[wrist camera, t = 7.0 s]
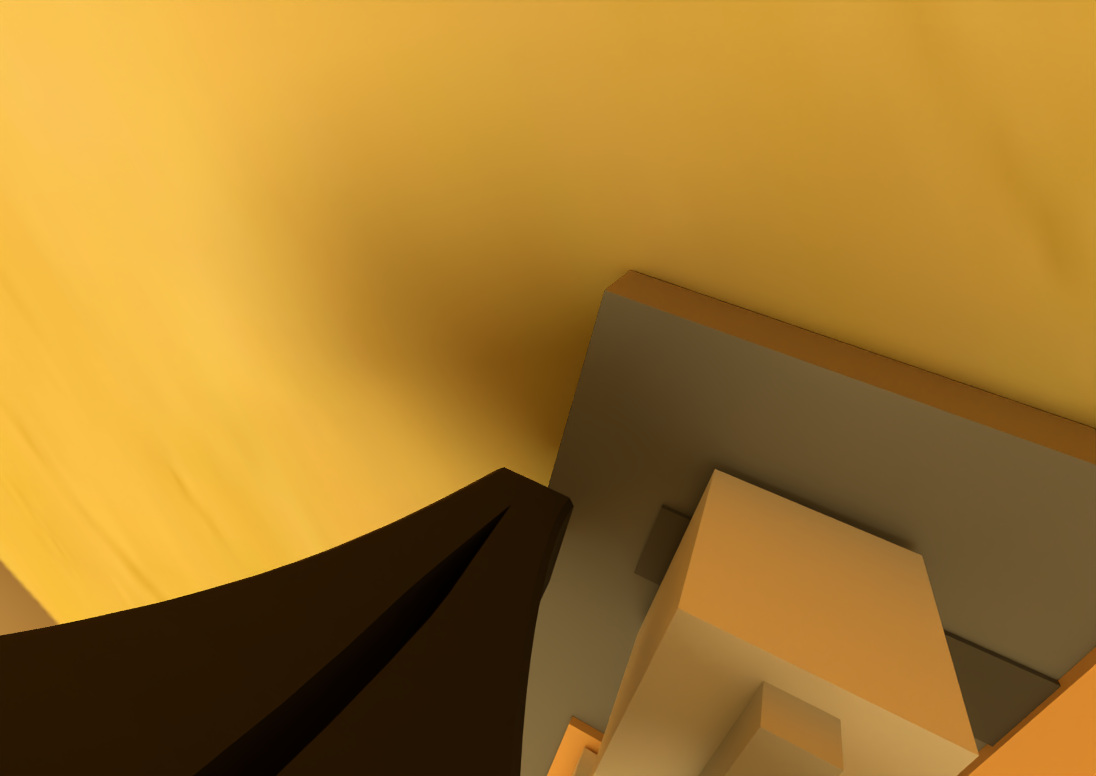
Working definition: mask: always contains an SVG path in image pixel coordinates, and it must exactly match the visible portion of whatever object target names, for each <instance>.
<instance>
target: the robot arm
mask: <svg viewBox="0 0 1096 776" xmlns="http://www.w3.org/2000/svg"><path fill="white" fill-rule="evenodd" d="M573 507H574V505H573V503H572V501H571V499H570V498H569V497H567V496H565V495H563V494H561V493H559V492H556V491H554V490H552V489H550V488H548V487H546V486H543V485H541V484H539V483H537V482H535V481H533V480H530V479H528V478H526V477H524V476H522V475H520V474H517V473H515V472H513V471H511V470H509V469H507V468H505V467H503V468H501V469H498V470H496V471H494V472H492V473H490V474H488V475H486V476H484V477H483V478H481V479H479V480H477V481H475V482H473V483H471V484H470V485H468V486H466V487H464V488H462V489H460V490H458V491H456V492H454V493H452V494H450V495H449V496H447V497H445V498H443V499H441V500H439V501H437V502H435V503H433V504H431V505H429V506H427V507H424V508H422V509H420V510H418V511H416V512H414V513H412V514H410V515H408V516H406V517H404V518H402V519H399V520H397V521H395V522H393V523H391V524H389V525H386V526H384V527H382V528H379V529H377V530H375V531H372V532H370V533H368V534H365V535H363V536H361V537H358V538H356V539H353V540H351V541H349V542H346V543H344V544H342V545H339V546H337V547H334V548H332V549H329V550H327V551H324V552H321V553H319V554H316V555H313V556H311V557H308V558H305V559H302V560H300V561H297V562H294V563H291V564H288V565H285V566H282V567H279V568H276V569H273V570H271V571H268V572H265V573H262V574H258V575H255V576H252V577H249V578H245V579H242V580H239V581H235V582H232V583H228V584H225V585H222V586H218V587H215V588H211V589H208V590H204V591H201V592H197V593H193V594H190V595H186V596H182V597H179V598H175V599H171V600H167V601H164V602H160V603H156V604H151V605H147V606H142V607H138V608H133V609H129V610H124V611H120V612H115V613H111V614H106V615H102V616H98V617H93V618H89V619H84V620H80V621H75V622H70V623H65V624H60V625H55V626H50V627H45V628H40V629H34V630H29V631H24V632H18V633H13V634H7V635H1V636H0V776H520V773H521V758H522V742H523V729H524V718H525V706H526V695H527V686H528V677H529V669H530V661H531V654H532V647H533V640H534V634H535V627H536V621H537V616H538V610H539V605H540V601H541V599H542V597H543V595H544V592H545V590H546V588H547V586H548V584H549V582H550V579H551V576H552V573H553V569H554V566H555V563H556V560H557V557H558V554H559V551H560V548H561V545H562V542H563V538H564V535H565V532H566V529H567V526H568V523H569V520H570V517H571V514H572V511H573Z"/></svg>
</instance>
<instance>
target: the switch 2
mask: <svg viewBox="0 0 1096 776" xmlns="http://www.w3.org/2000/svg"><path fill="white" fill-rule="evenodd" d="M978 756H979V754H978V750H977V747H976V743H975V740H974V736H973V733H972V729H971V726H970V722H969V719H968V715H967V712H966V708H965V705H964V701H963V698H962V694H961V691H960V687H959V684H958V680H957V676H956V673H955V669H954V666H953V662H952V659H951V655H950V652H949V648H948V645H947V641H946V638H945V634H944V631H943V627H942V624H941V620H940V617H939V613H938V610H937V606H936V603H935V599H934V596H933V592H932V588H931V585H930V581H929V578H928V574H927V571H926V567H925V564H924V560H923V557H922V555H920V554H917V553H915V552H912V551H910V550H908V549H905V548H903V547H900V546H898V545H896V544H893V543H891V542H888V541H886V540H884V539H881V538H879V537H877V536H874V535H872V534H869V533H867V532H865V531H862V530H860V529H857V528H855V527H853V526H850V525H848V524H846V523H843V522H841V521H838V520H836V519H834V518H831V517H829V516H826V515H824V514H822V513H819V512H817V511H814V510H812V509H810V508H807V507H805V506H803V505H800V504H798V503H795V502H793V501H791V500H788V499H786V498H783V497H781V496H779V495H776V494H774V493H772V492H769V491H767V490H764V489H762V488H760V487H757V486H755V485H752V484H750V483H748V482H745V481H743V480H740V479H738V478H736V477H733V476H731V475H729V474H726V473H724V472H721V471H719V470H717V469H715V470H714V472H713V474H712V476H711V478H710V480H709V483H708V485H707V487H706V489H705V491H704V493H703V495H702V497H701V500H700V502H699V504H698V506H697V508H696V510H695V512H694V515H693V517H692V519H691V521H690V523H689V525H688V527H687V529H686V532H685V534H684V536H683V538H682V540H681V542H680V544H679V547H678V549H677V551H676V553H675V555H674V557H673V559H672V562H671V564H670V566H669V568H668V570H667V572H666V574H665V576H664V579H663V581H662V583H661V585H660V587H659V589H658V591H657V594H656V596H655V598H654V600H653V602H652V604H651V606H650V608H649V611H648V613H647V615H646V617H645V619H644V621H643V623H642V626H641V628H640V630H639V632H638V634H637V637H636V640H635V643H634V646H633V649H632V652H631V655H630V658H629V661H628V664H627V667H626V670H625V673H624V676H623V679H622V682H621V685H620V688H619V691H618V694H617V697H616V700H615V703H614V706H613V709H612V712H611V715H610V718H609V721H608V724H607V727H606V730H605V733H604V736H603V739H602V742H601V745H600V748H599V751H598V754H597V757H596V760H595V763H594V766H593V769H592V772H591V775H590V776H957V775H958V774H959V773H960V772H961V771H962V770H964V769H965V768H966V767H967V766H968V765H969V764H970V763H971V762H973V761H974V760H975V759H976V758H977V757H978Z"/></svg>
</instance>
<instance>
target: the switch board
mask: <svg viewBox="0 0 1096 776" xmlns="http://www.w3.org/2000/svg"><path fill="white" fill-rule="evenodd" d="M715 469H717V470H719V471H721V472H724V473H726V474H729V475H731V476H733V477H736V478H738V479H740V480H743V481H745V482H748V483H750V484H752V485H755V486H757V487H760V488H762V489H764V490H767V491H769V492H772V493H774V494H776V495H779V496H781V497H783V498H786V499H788V500H791V501H793V502H795V503H798V504H800V505H803V506H805V507H807V508H810V509H812V510H814V511H817V512H819V513H822V514H824V515H826V516H829V517H831V518H834V519H836V520H838V521H841V522H843V523H846V524H848V525H850V526H853V527H855V528H857V529H860V530H862V531H865V532H867V533H869V534H872V535H874V536H877V537H879V538H881V539H884V540H886V541H888V542H891V543H893V544H896V545H898V546H900V547H903V548H905V549H908V550H910V551H912V552H915V553H917V554H920V555H922V557H923V560H924V564H925V567H926V571H927V574H928V578H929V581H930V585H931V588H932V592H933V596H934V599H935V603H936V606H937V610H938V613H939V617H940V620H941V624H942V627H943V631H944V634H945V638H946V641H947V645H948V648H949V652H950V655H951V659H952V662H953V666H954V669H955V673H956V676H957V680H958V684H959V687H960V691H961V694H962V698H963V701H964V705H965V708H966V712H967V715H968V719H969V722H970V726H971V729H972V733H973V736H974V740H975V743H976V747H977V750H978V754H979V756H978V757H977V758H976V759H975V760H974V761H973V762H971V763H970V764H969V765H968V766H967V767H966V768H965V769H964V770H962V771H961V772H960V773H959V774H958V775H957V776H1096V429H1094V428H1091V427H1088V426H1085V425H1082V424H1079V423H1076V422H1073V421H1071V420H1068V419H1065V418H1062V417H1059V416H1056V415H1053V414H1050V413H1047V412H1044V411H1041V410H1038V409H1035V408H1032V407H1030V406H1027V405H1024V404H1021V403H1018V402H1015V401H1012V400H1009V399H1006V398H1003V397H1000V396H997V395H994V394H992V393H989V392H986V391H983V390H980V389H977V388H974V387H971V386H968V385H965V384H962V383H959V382H956V381H954V380H951V379H948V378H945V377H942V376H939V375H936V374H933V373H930V372H927V371H924V370H921V369H918V368H915V367H913V366H910V365H907V364H904V363H901V362H898V361H895V360H892V359H889V358H886V357H883V356H880V355H877V354H875V353H872V352H869V351H866V350H863V349H860V348H857V347H854V346H851V345H848V344H845V343H842V342H839V341H837V340H834V339H831V338H828V337H825V336H822V335H819V334H816V333H813V332H810V331H807V330H804V329H801V328H798V327H796V326H793V325H790V324H787V323H784V322H781V321H778V320H775V319H772V318H769V317H766V316H763V315H760V314H758V313H755V312H752V311H749V310H746V309H743V308H740V307H737V306H734V305H731V304H728V303H725V302H722V301H720V300H717V299H714V298H711V297H708V296H705V295H702V294H699V293H696V292H693V291H690V290H687V289H684V288H681V287H679V286H676V285H673V284H670V283H667V282H664V281H661V280H658V279H655V278H652V277H649V276H646V275H643V274H641V273H638V272H635V271H632V270H630V271H629V272H628V273H626V274H625V275H624V276H622V277H621V278H620V279H619V280H617V281H616V282H615V283H613V284H612V285H611V286H610V287H608V288H607V289H606V290H605V291H604V295H603V298H602V302H601V305H600V309H599V312H598V315H597V319H596V322H595V326H594V329H593V333H592V336H591V340H590V343H589V347H588V350H587V354H586V357H585V361H584V364H583V368H582V371H581V375H580V378H579V382H578V385H577V389H576V392H575V395H574V399H573V402H572V406H571V409H570V413H569V416H568V420H567V423H566V427H565V430H564V434H563V437H562V441H561V444H560V448H559V451H558V455H557V458H556V462H555V465H554V469H553V472H552V475H551V479H550V482H549V486H548V488H550V489H552V490H554V491H556V492H559V493H561V494H563V495H565V496H567V497H569V498H570V499H571V501H572V503H573V505H574V507H573V511H572V514H571V517H570V520H569V523H568V526H567V529H566V532H565V535H564V538H563V542H562V545H561V548H560V551H559V554H558V557H557V560H556V563H555V566H554V569H553V573H552V576H551V579H550V582H549V584H548V586H547V588H546V590H545V592H544V595H543V597H542V599H541V601H540V605H539V610H538V616H537V621H536V627H535V634H534V640H533V647H532V654H531V661H530V669H529V677H528V686H527V695H526V706H525V718H524V729H523V742H522V758H521V773H520V776H571V775H572V773H573V771H574V769H575V766H576V764H577V762H578V760H579V758H580V756H581V754H582V752H583V749H584V747H585V748H586V749H588V750H590V751H592V752H593V753H595V754H598V751H599V748H600V745H601V742H602V739H603V736H604V733H605V730H606V727H607V724H608V721H609V718H610V715H611V712H612V709H613V706H614V703H615V700H616V697H617V694H618V691H619V688H620V685H621V682H622V679H623V676H624V673H625V670H626V667H627V664H628V661H629V658H630V655H631V652H632V649H633V646H634V643H635V640H636V637H637V634H638V632H639V630H640V628H641V626H642V623H643V621H644V619H645V617H646V615H647V613H648V611H649V608H650V606H651V604H652V602H653V600H654V598H655V596H656V594H657V591H658V589H659V587H660V585H661V583H662V581H663V579H664V576H665V574H666V572H667V570H668V568H669V566H670V564H671V562H672V559H673V557H674V555H675V553H676V551H677V549H678V547H679V544H680V542H681V540H682V538H683V536H684V534H685V532H686V529H687V527H688V525H689V523H690V521H691V519H692V517H693V515H694V512H695V510H696V508H697V506H698V504H699V502H700V500H701V497H702V495H703V493H704V491H705V489H706V487H707V485H708V483H709V480H710V478H711V476H712V474H713V472H714V470H715Z"/></svg>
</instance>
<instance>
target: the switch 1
mask: <svg viewBox="0 0 1096 776" xmlns="http://www.w3.org/2000/svg"><path fill="white" fill-rule="evenodd" d="M596 757H597V754H595V753H593V752H592V751H590V750H588V749H586V748H585V747H584V749H583V752H582V754H581V756H580V758H579V760H578V762H577V764H576V766H575V769H574V771H573V773H572V775H571V776H590V775H591V772H592V769H593V766H594V763H595V760H596Z"/></svg>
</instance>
